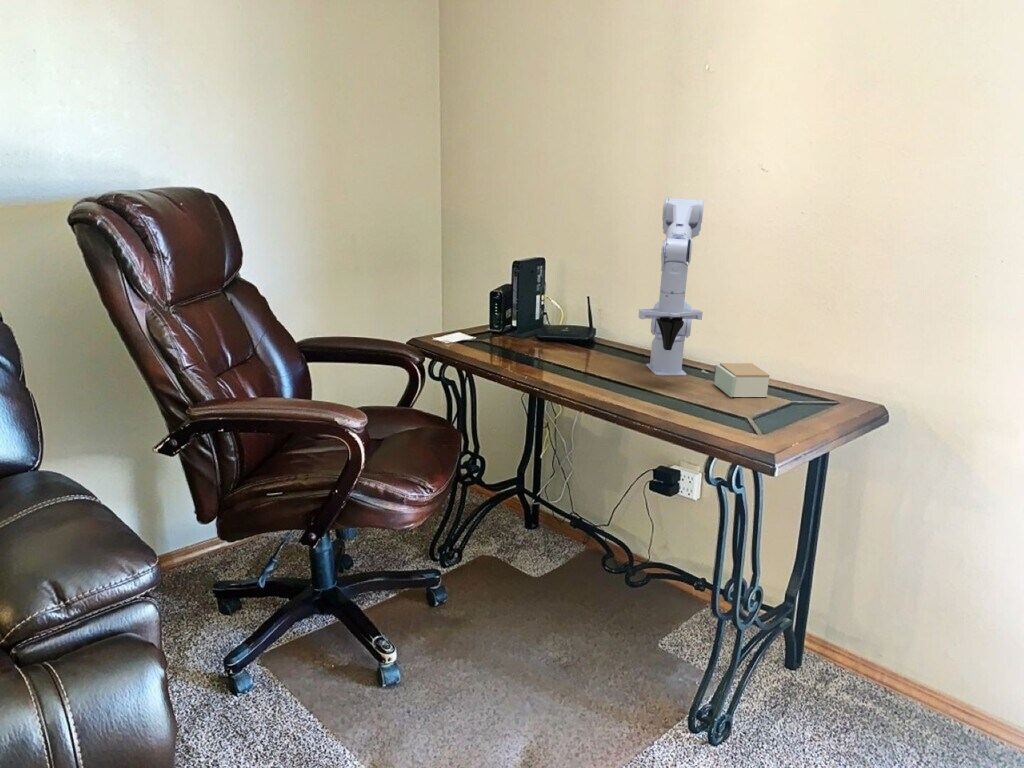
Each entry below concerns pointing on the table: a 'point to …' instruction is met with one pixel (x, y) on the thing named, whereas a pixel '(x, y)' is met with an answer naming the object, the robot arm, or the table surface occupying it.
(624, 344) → the table surface
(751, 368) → the cabinet
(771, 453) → the table surface
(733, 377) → the door
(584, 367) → the table surface
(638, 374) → the table surface
